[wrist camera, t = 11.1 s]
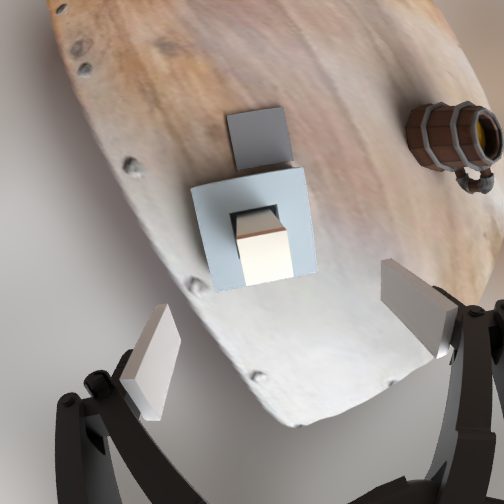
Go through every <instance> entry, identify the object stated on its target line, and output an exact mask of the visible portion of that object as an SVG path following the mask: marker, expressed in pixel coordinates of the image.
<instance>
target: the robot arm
mask: <svg viewBox="0 0 504 504" xmlns="http://www.w3.org/2000/svg"><path fill="white" fill-rule="evenodd" d="M381 301H382V302H383V303H384V304H385V305H386V306H387V307H388V308H389V309H390V310H391V311H392V312H393V313H394V314H395V315H396V316H397V317H398V318H399V319H400V320H401V321H402V322H403V323H404V325H405V326H406V327H407V328H408V329H409V330H410V331H411V332H412V333H413V334H414V335H415V336H416V337H417V339H418V340H419V341H420V342H421V343H422V344H423V345H424V346H425V347H426V348H427V350H428V351H429V352H430V353H431V354H432V355H433V356H434V357H435V358H436V359H438V358H440V357H442V356H444V355H446V354H447V353H448V349H449V346H450V344H451V345H452V346H453V347H454V351H453V354H452V358H451V361H450V364H449V365H451V364H452V366H451V375H450V383H449V390H448V397H447V402H446V408H445V413H444V418H443V423H442V428H441V432H440V436H439V440H438V443H437V447H436V451H435V454H434V458H433V461H432V464H431V467H430V469H429V471H428V473H427V475H426V477H425V479H424V480H410V481H406V478H405V476H403V477H400V478H398V479H396V480H393V481H391V482H389V483H386V484H383V485H381V486H378V487H376V488H374V489H373V490H371V491H369V492H368V493H366V494H364V495H363V496H361V497H359V498H357V499H356V500H354V501H352V502H350V503H348V504H504V500H500V499H495V498H491V497H486V494H487V489H488V485H489V481H490V476H491V471H492V465H493V459H494V452H495V444H496V434H495V433H494V432H493V433H492V432H491V417H492V375H493V378H494V382H495V385H496V389H497V392H498V396H499V400H500V404H501V408H502V413H503V418H504V300H498V301H497V302H496V304H495V308H494V310H491V311H485V310H484V309H482V308H481V307H479V306H476V305H469V306H467V307H466V306H465V305H464V304H462V303H461V302H460V301H458V300H457V299H456V298H454V297H452V296H451V295H450V294H449V293H447V292H446V291H445V290H443V289H442V288H439V287H436V286H430V285H429V284H427V283H426V282H425V281H423V280H422V279H420V278H419V277H418V276H416V275H415V274H413V273H412V272H410V271H409V270H408V269H406V268H405V267H403V266H402V265H400V264H399V263H397V262H396V261H394V260H393V259H386V260H382V261H381ZM180 343H181V339H180V336H179V334H178V331H177V328H176V326H175V323H174V320H173V317H172V315H171V312H170V309H169V306H168V304H162V305H156V307H155V309H154V310H153V312H152V314H151V316H150V318H149V320H148V322H147V324H146V326H145V328H144V330H143V332H142V334H141V336H140V338H139V340H138V342H137V344H136V346H135V348H134V349H131V350H128V351H126V352H125V354H124V355H122V357H121V359H120V361H119V363H118V365H117V367H116V369H115V371H114V373H113V375H112V377H110V375H109V373H108V372H107V371H104V370H97V371H95V372H93V373H91V374H89V375H88V376H87V377H86V378H85V380H84V386H85V388H86V390H87V391H88V393H89V394H90V395H91V397H90V398H86V399H81V398H80V397H79V396H78V394H76V393H73V392H71V393H67V394H65V395H63V396H62V397H61V398H60V399H59V401H58V404H57V413H56V431H55V471H56V487H57V497H58V504H122V501H121V498H120V494H119V490H118V486H117V483H116V479H115V475H114V470H113V466H112V461H111V456H110V451H109V445H108V440H107V436H110V437H111V438H112V440H113V442H114V444H115V446H116V448H117V449H118V451H119V453H120V455H121V457H122V458H123V460H124V462H125V463H126V465H127V467H128V468H129V470H130V472H131V473H132V475H133V477H134V478H135V480H136V481H137V483H138V484H139V486H140V487H141V489H142V490H143V492H144V493H145V494H146V496H147V497H148V499H149V500H150V501H151V503H152V504H209V503H208V502H207V501H206V500H205V499H204V498H203V497H202V496H201V495H200V494H199V493H198V492H197V491H196V490H195V489H194V487H193V486H192V485H191V484H190V483H189V482H188V481H187V480H186V479H185V478H184V477H183V476H182V474H181V473H180V472H179V471H178V470H177V469H176V468H175V466H174V465H173V464H172V463H171V462H170V461H169V459H168V458H167V457H166V456H165V454H164V453H163V452H162V451H161V449H160V448H159V447H158V445H157V444H156V443H155V441H154V440H153V439H152V437H151V436H150V435H149V434H148V432H147V431H146V429H145V428H144V427H143V425H142V424H141V422H140V421H139V416H140V413H141V414H142V416H143V417H144V419H145V420H146V421H160V420H161V416H162V412H163V408H164V404H165V400H166V396H167V392H168V388H169V384H170V380H171V376H172V373H173V369H174V365H175V362H176V358H177V354H178V351H179V347H180Z"/></svg>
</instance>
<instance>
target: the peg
mask: <svg viewBox="0 0 504 504" xmlns="http://www.w3.org/2000/svg"><path fill="white" fill-rule="evenodd" d="M236 241H237V245H238V250H239V255H240V260H241V264H242V269H243V274H244V278H245V283H246V286H249V285H255V284H260V283H265V282H270V281H275V280H280V279H285V278H290V277H294V274H293V267H292V261H291V254H290V247H289V241H288V234H287V229H286V228H285V227H284V226H283V225H282V224H281V222H280V221H279V220H278V219H277V217H276V216H275V215H274V214H273V213H272V211H271V210H270V209H269V208H266V209H260V210H255V211H250V212H245V213H240V214H237V236H236Z"/></svg>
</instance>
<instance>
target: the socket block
mask: <svg viewBox="0 0 504 504" xmlns="http://www.w3.org/2000/svg"><path fill="white" fill-rule="evenodd" d="M191 193H192V198H193V202H194V207H195V211H196V216H197V220H198V224H199V229H200V233H201V237H202V241H203V245H204V250H205V254H206V258H207V262H208V266H209V270H210V274H211V277H212V281H213V285H214V289H215V292H221V291H226V290H232V289H237V288H242V287H248V286H246V283H245V278H244V274H243V269H242V264H241V260H240V255H239V250H238V245H237V241H236V236H237V214H240V213H245V212H250V211H255V210H260V209H266V208H269V209H270V210H271V211H272V213H273V214H274V215H275V216H276V217H277V219H278V220H279V221H280V222H281V224H282V225H283V226H284V227H285V228H286V229H287V234H288V241H289V247H290V254H291V261H292V267H293V274H294V277H298V276H303V275H307V274H312V273H317V272H318V271H317V261H316V253H315V244H314V236H313V229H312V221H311V214H310V207H309V200H308V194H307V187H306V181H305V175H304V169H303V167H293V168H287V169H281V170H275V171H269V172H263V173H257V174H252V175H246V176H241V177H236V178H231V179H226V180H221V181H217V182H212V183H207V184H203V185H198V186H195V187H193V188H191ZM290 278H293V277H290ZM285 279H288V278H285ZM280 280H283V279H280ZM275 281H278V280H275ZM270 282H273V281H270ZM265 283H268V282H265ZM260 284H263V283H260ZM255 285H258V284H255ZM249 286H253V285H249Z"/></svg>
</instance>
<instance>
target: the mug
mask: <svg viewBox="0 0 504 504" xmlns="http://www.w3.org/2000/svg"><path fill="white" fill-rule="evenodd" d="M405 128H406V133H407V139H408V145H409V150H410V151H411V152H412V154H413V155H414V156H415V158H416V159H417V161H418V162H419V164H420V165H421V166H423V167H426V168H429V169H432V170H435V171H441V172H442V171H444V170H448V171H450V172H454V171H455V174H456V177H457V178H456V181H457V182H458V184H459V185H460V186H461V188H462V189H464V190H465V191H466V192H468V193H470V194H473V193H474V192H481V193H483V194H486V193H488V192H489V191H490V190H491V189H492V188H493V185H494V174H493V173H491V170H490V167H491V165H492V164H494V163H495V162H497V161H498V160H499V159H501V156H502V152H503V146H504V141H503V134H502V128H501V126H500V124H499V122H498V120H497V119H496V117H495V115H494V114H493V113H492V112H490V111H489V110H487V109H486V108H483V107H482V106H476V105H474V104H473V103H471V102H470V101H466V102H463V103H461V104H459V105H456V106H449V105H447V104H445V103H443V102H439V103H437V104H434V105H433V104H427V105H424V106H421V107H419V108H416V109H414V110H412V111H411V114H410V117H409V119H408V122H407V125H406V127H405ZM464 167H470V168H472V169H474V170H476V171H480V173H481V175H480V179H479V180H473V179H471V178H469V176H468V173H466V172H465V170H464Z"/></svg>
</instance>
